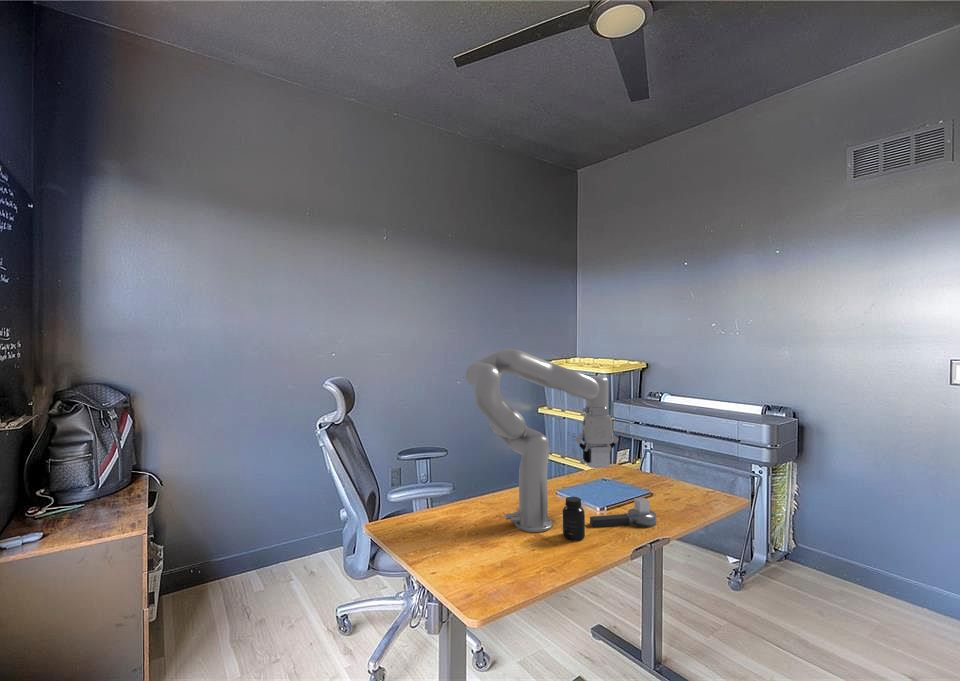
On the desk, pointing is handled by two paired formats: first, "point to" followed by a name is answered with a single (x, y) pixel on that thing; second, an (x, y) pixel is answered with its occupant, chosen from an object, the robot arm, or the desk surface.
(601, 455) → the grey matte cube
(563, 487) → the desk surface
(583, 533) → the supplement bottle
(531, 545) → the desk surface
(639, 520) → the ratchet
